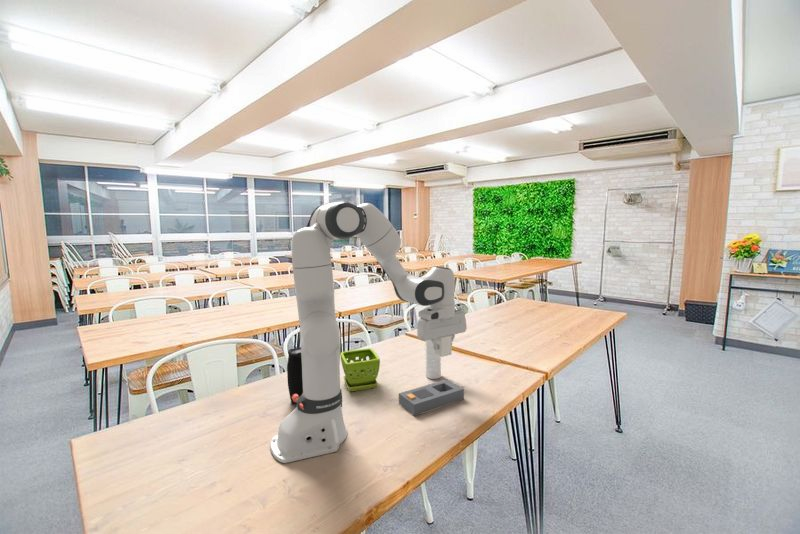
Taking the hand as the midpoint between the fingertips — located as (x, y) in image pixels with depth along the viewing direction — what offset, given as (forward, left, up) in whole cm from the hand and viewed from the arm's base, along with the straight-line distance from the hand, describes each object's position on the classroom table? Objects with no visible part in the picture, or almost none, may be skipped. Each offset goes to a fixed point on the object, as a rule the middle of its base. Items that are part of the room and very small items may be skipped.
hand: (442, 347), depth 132 cm
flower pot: (-21, +27, -20) cm, 40 cm away
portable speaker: (-45, +27, -20) cm, 56 cm away
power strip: (-5, 0, -19) cm, 20 cm away
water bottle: (+10, +18, -20) cm, 28 cm away
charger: (0, 0, -2) cm, 2 cm away
